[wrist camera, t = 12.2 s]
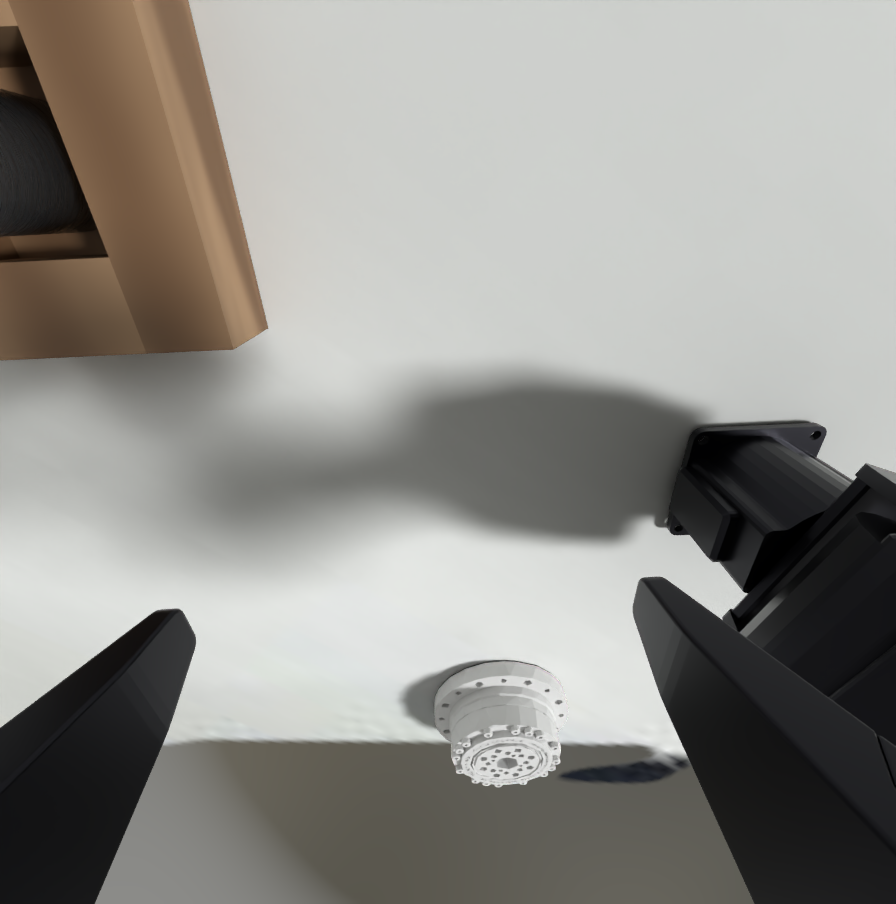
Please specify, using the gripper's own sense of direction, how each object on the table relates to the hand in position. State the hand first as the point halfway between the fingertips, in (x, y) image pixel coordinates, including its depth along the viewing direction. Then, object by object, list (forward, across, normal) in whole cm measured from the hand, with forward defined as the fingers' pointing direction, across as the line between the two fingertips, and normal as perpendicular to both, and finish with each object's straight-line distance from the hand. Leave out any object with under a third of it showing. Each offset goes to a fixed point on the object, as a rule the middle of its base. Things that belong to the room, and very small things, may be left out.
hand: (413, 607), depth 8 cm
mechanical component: (+13, -4, +26) cm, 29 cm away
